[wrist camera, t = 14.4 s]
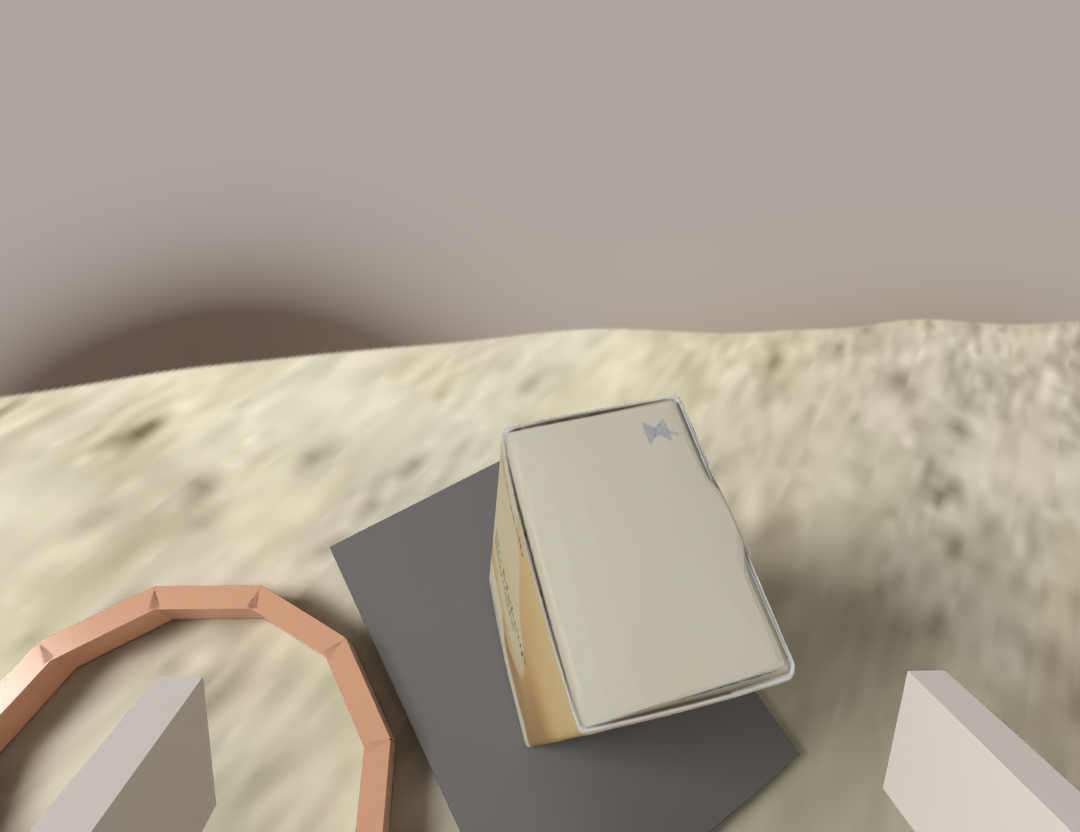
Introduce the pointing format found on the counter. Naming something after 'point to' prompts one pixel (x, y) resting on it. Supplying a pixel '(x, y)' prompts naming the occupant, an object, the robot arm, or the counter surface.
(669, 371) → the counter surface
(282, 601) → the pink polygonal ring
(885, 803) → the counter surface
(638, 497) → the skincare box
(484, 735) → the rubber mat
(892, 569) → the counter surface
